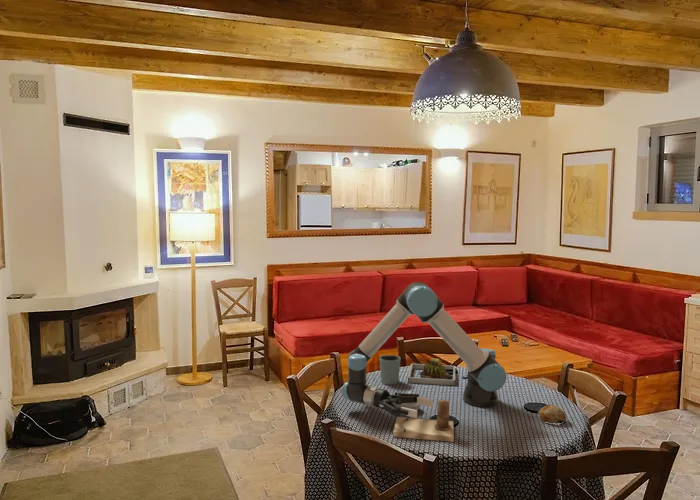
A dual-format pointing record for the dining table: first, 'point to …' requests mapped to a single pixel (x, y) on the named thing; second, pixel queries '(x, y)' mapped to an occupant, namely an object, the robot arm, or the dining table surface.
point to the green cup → (389, 369)
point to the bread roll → (552, 414)
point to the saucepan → (409, 404)
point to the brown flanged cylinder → (443, 416)
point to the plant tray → (429, 380)
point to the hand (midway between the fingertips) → (424, 408)
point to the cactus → (435, 370)
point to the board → (421, 429)
